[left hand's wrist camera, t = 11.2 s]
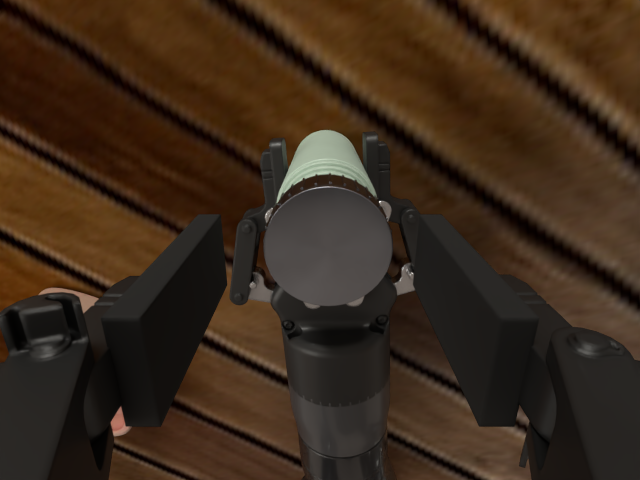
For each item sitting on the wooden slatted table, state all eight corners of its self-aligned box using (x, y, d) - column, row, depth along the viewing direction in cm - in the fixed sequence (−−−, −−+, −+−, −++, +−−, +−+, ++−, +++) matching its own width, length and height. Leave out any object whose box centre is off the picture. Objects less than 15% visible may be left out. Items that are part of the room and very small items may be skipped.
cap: (282, 159, 15) (276, 169, 13) (401, 188, 15) (413, 203, 13) (259, 268, 17) (250, 292, 15) (367, 293, 17) (372, 319, 15)
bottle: (302, 122, 29) (277, 166, 13) (364, 139, 30) (411, 199, 14) (288, 184, 31) (251, 288, 15) (347, 199, 31) (372, 315, 15)
